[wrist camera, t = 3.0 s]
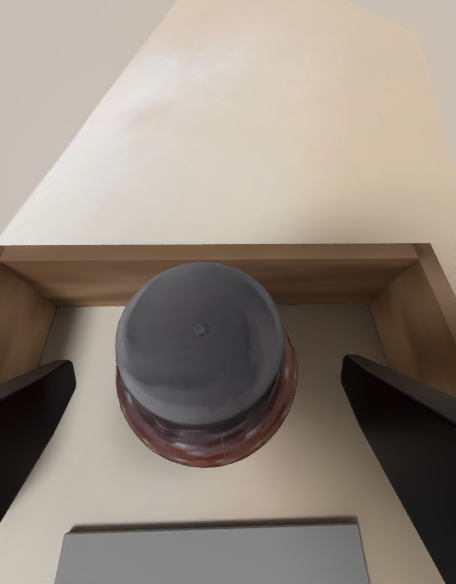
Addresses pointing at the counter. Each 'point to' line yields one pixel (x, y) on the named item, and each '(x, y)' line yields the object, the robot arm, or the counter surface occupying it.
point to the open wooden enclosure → (256, 263)
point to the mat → (215, 555)
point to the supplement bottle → (204, 365)
